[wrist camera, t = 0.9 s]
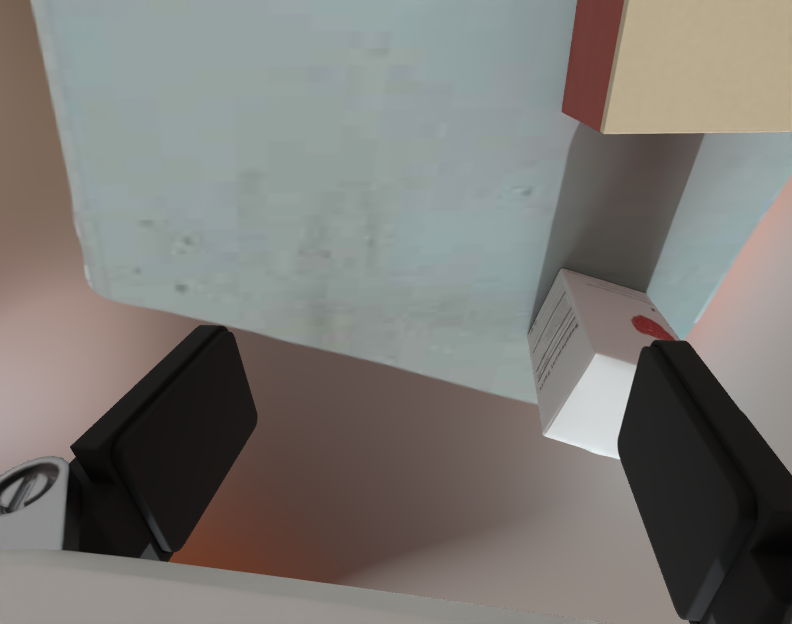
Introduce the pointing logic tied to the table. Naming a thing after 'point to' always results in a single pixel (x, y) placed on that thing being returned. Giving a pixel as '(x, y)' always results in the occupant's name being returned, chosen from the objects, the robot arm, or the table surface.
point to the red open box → (591, 59)
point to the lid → (701, 68)
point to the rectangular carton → (590, 357)
